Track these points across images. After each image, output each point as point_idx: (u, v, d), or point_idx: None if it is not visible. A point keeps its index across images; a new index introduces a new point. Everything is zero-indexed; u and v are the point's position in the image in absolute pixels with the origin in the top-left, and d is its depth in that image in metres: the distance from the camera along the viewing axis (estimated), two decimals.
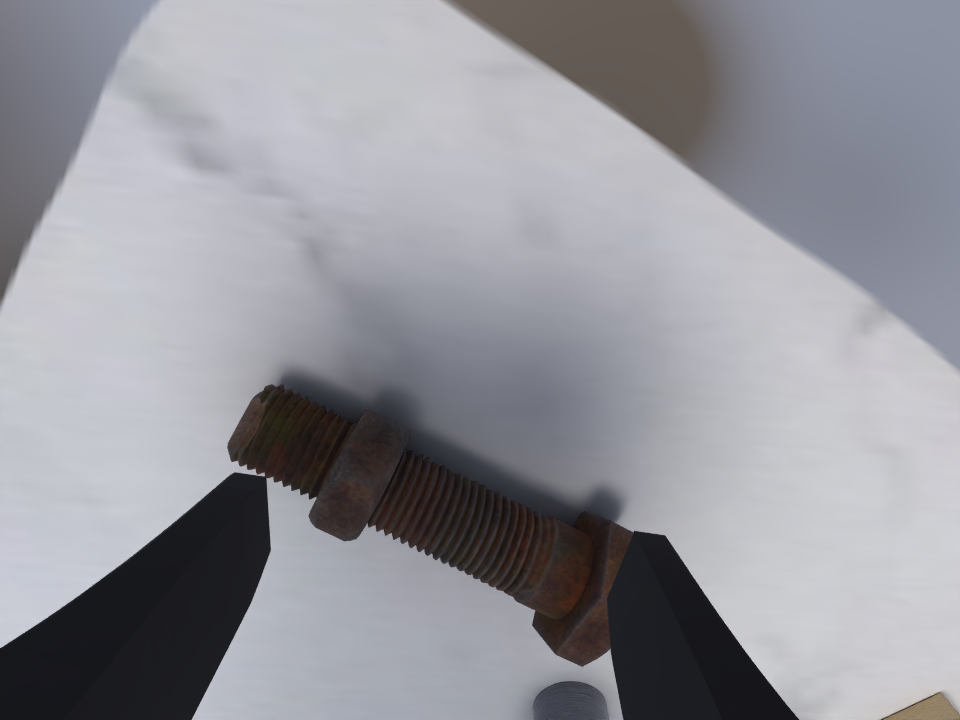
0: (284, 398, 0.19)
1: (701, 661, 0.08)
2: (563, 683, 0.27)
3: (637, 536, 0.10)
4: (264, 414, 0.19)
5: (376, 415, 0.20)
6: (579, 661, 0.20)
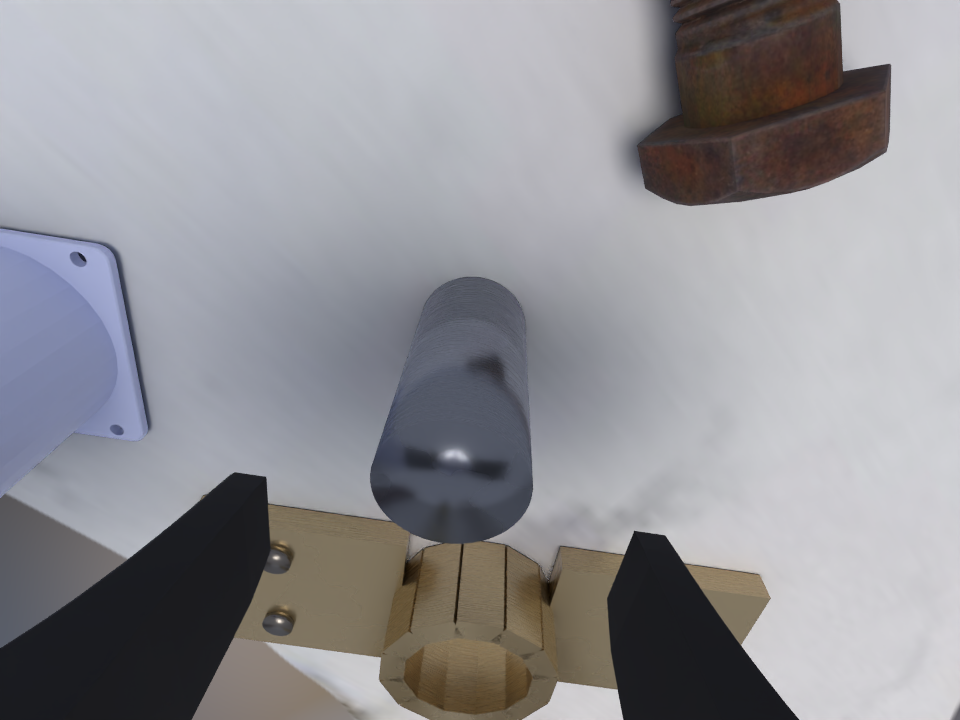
0: None
1: (701, 661, 0.08)
2: (502, 289, 0.18)
3: (637, 536, 0.10)
4: None
5: None
6: (744, 178, 0.12)
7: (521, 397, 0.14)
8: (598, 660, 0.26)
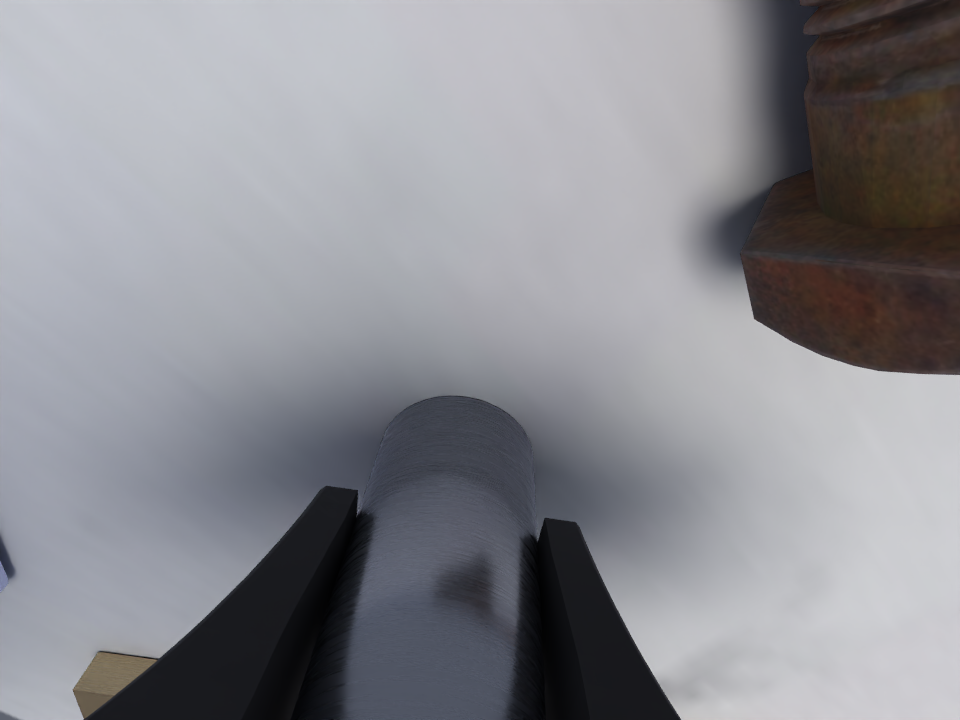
0: None
1: (580, 644, 0.08)
2: (500, 413, 0.12)
3: (546, 522, 0.10)
4: None
5: None
6: None
7: (531, 687, 0.08)
8: None
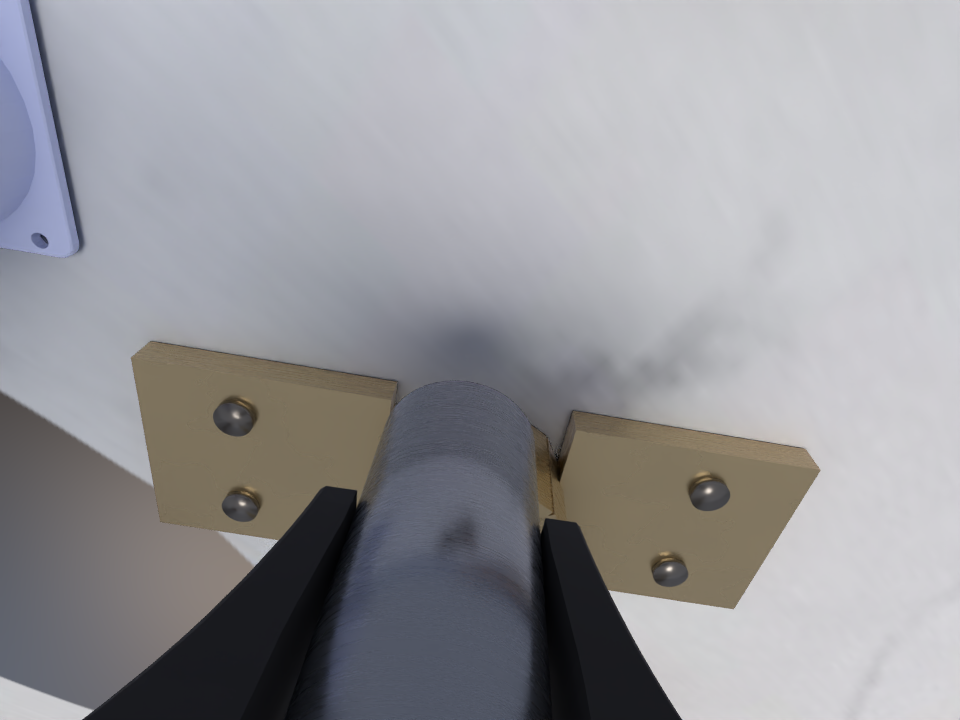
0: None
1: (581, 644, 0.08)
2: (500, 396, 0.12)
3: (546, 523, 0.10)
4: None
5: None
6: None
7: (534, 649, 0.08)
8: (613, 555, 0.23)
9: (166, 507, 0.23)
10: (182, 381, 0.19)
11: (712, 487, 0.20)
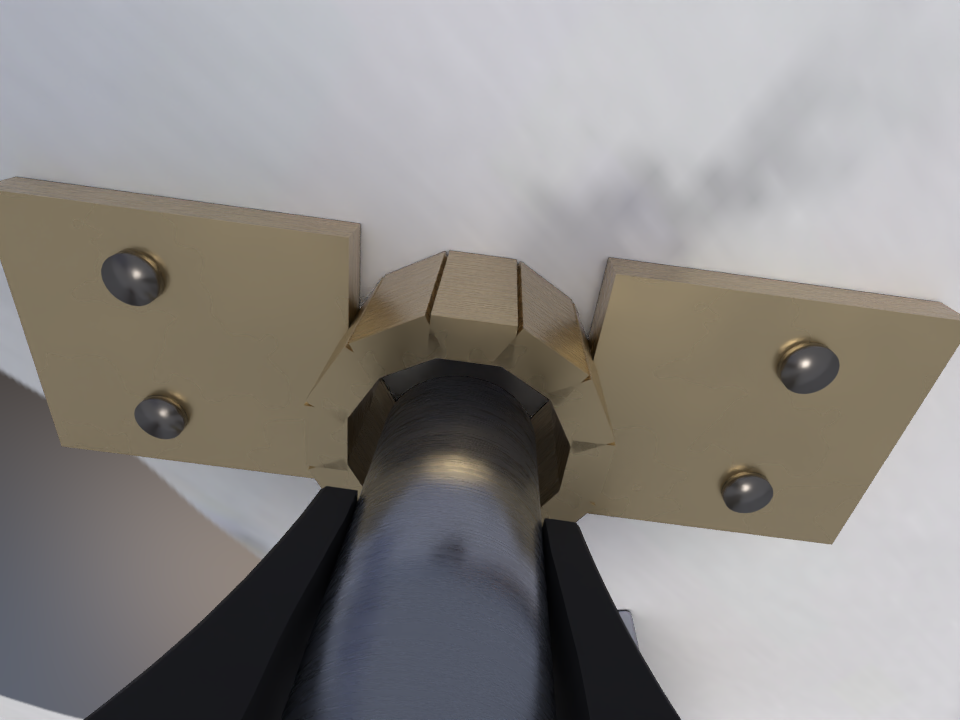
0: None
1: (581, 644, 0.08)
2: (500, 392, 0.12)
3: (546, 523, 0.10)
4: None
5: None
6: None
7: (537, 636, 0.08)
8: (668, 470, 0.17)
9: (65, 424, 0.17)
10: (54, 224, 0.14)
11: (814, 354, 0.14)
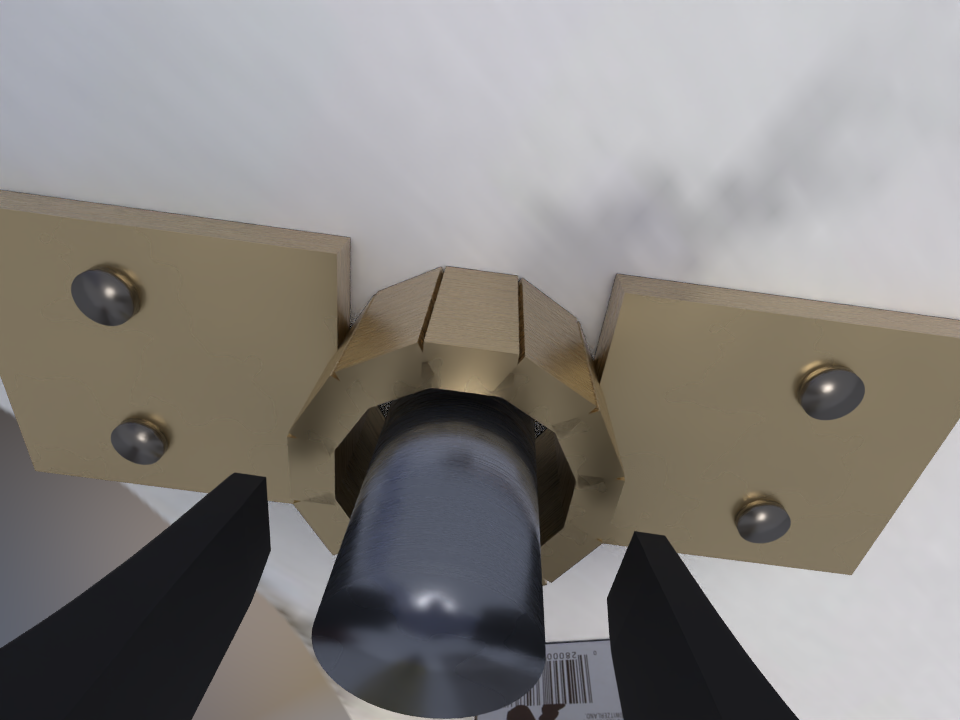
0: None
1: (701, 661, 0.08)
2: None
3: (638, 536, 0.10)
4: None
5: None
6: None
7: (527, 505, 0.10)
8: (679, 498, 0.16)
9: (39, 448, 0.16)
10: (20, 238, 0.13)
11: (838, 379, 0.13)
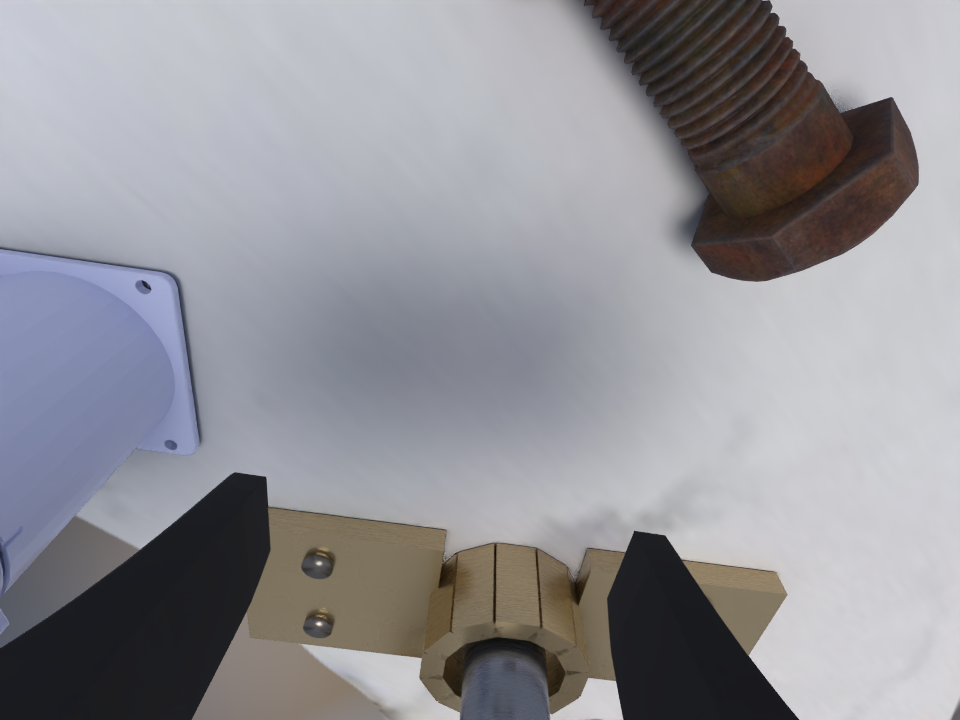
0: None
1: (701, 661, 0.08)
2: None
3: (637, 536, 0.10)
4: None
5: None
6: (796, 259, 0.14)
7: (544, 701, 0.22)
8: None
9: (256, 627, 0.28)
10: (277, 540, 0.24)
11: None
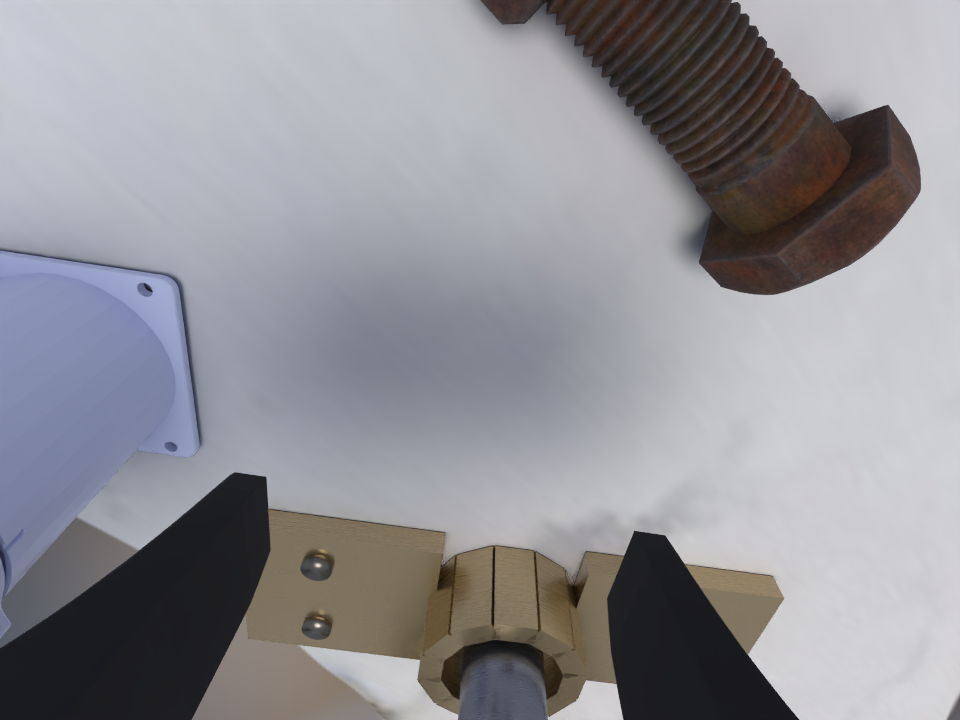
0: None
1: (701, 661, 0.08)
2: None
3: (637, 536, 0.10)
4: None
5: None
6: (803, 274, 0.14)
7: (542, 704, 0.22)
8: None
9: (254, 628, 0.28)
10: (276, 542, 0.24)
11: None
